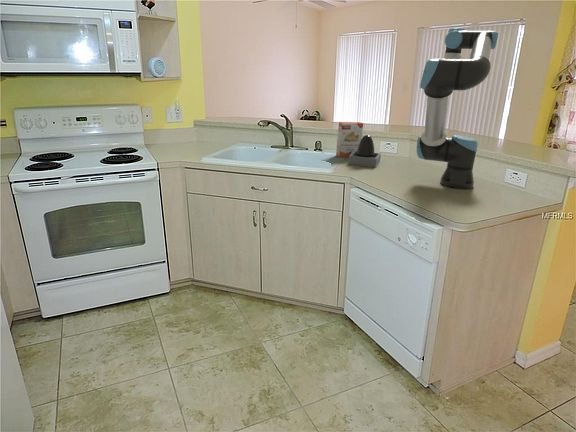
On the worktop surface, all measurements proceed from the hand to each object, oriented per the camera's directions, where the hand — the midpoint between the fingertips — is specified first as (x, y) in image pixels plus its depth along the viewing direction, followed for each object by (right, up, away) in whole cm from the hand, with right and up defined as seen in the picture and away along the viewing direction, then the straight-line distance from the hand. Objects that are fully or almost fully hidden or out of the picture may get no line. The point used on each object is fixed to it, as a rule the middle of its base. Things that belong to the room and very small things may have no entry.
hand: (443, 106), depth 203 cm
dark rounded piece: (-36, -25, +26) cm, 51 cm away
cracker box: (-43, -20, +42) cm, 63 cm away
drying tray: (-36, -26, +26) cm, 51 cm away
